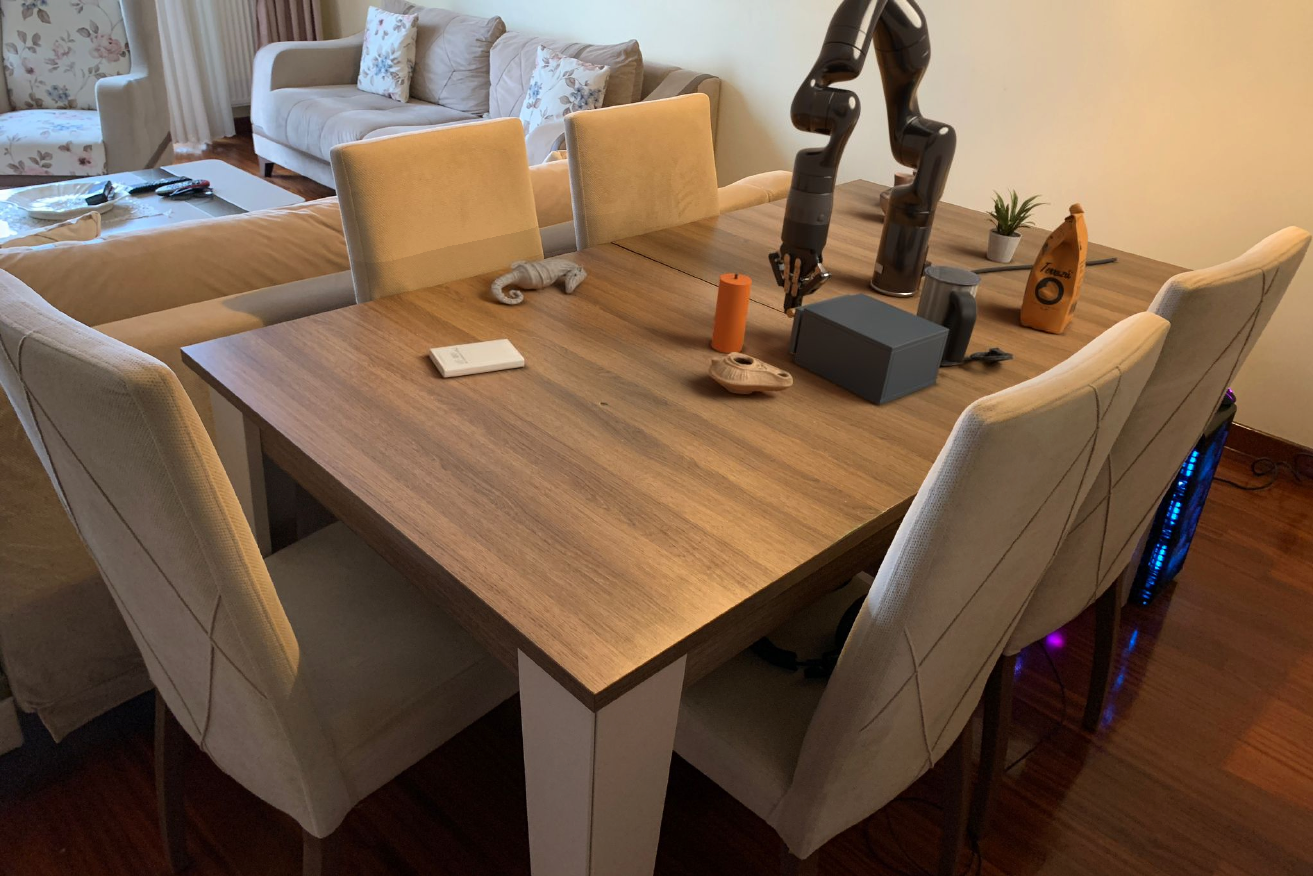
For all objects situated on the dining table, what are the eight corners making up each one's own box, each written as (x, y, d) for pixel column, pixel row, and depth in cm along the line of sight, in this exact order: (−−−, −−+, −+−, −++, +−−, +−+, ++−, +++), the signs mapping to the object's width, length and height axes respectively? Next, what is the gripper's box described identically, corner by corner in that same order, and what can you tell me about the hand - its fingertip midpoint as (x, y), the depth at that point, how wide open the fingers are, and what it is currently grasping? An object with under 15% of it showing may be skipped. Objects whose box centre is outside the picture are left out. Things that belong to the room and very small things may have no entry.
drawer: (769, 342, 154) (775, 298, 151) (821, 327, 162) (829, 285, 159) (865, 390, 141) (876, 344, 137) (917, 371, 149) (928, 327, 145)
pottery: (866, 221, 230) (876, 173, 224) (904, 204, 248) (913, 159, 242) (909, 232, 224) (919, 183, 219) (944, 213, 243) (955, 168, 237)
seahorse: (526, 308, 158) (598, 266, 171) (478, 271, 160) (552, 233, 173) (521, 330, 161) (591, 287, 174) (474, 293, 164) (546, 254, 177)
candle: (727, 338, 157) (736, 266, 150) (748, 349, 153) (759, 276, 147) (704, 344, 154) (713, 271, 147) (726, 355, 150) (736, 281, 144)
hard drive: (524, 368, 140) (444, 379, 134) (506, 347, 146) (429, 356, 140) (524, 358, 139) (444, 369, 134) (506, 337, 145) (428, 346, 140)
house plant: (1042, 260, 213) (1063, 190, 205) (1029, 274, 203) (1051, 201, 195) (981, 245, 219) (1000, 177, 211) (965, 259, 209) (984, 187, 201)
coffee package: (1009, 324, 174) (1043, 210, 164) (1022, 306, 184) (1054, 197, 173) (1063, 338, 170) (1102, 222, 160) (1073, 319, 180) (1110, 208, 169)
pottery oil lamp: (786, 409, 134) (772, 373, 130) (713, 411, 141) (697, 377, 136) (801, 369, 140) (788, 333, 135) (730, 373, 146) (715, 339, 142)
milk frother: (894, 347, 160) (913, 265, 152) (965, 339, 166) (986, 260, 158) (946, 382, 148) (970, 296, 141) (1020, 373, 155) (1046, 290, 147)
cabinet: (794, 362, 150) (803, 307, 146) (850, 344, 159) (861, 292, 154) (879, 405, 139) (892, 347, 134) (935, 383, 148) (949, 329, 143)
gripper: (853, 224, 147) (834, 323, 156) (793, 202, 156) (778, 298, 165) (822, 229, 143) (804, 332, 152) (763, 207, 152) (748, 305, 160)
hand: (790, 314), depth 158 cm, fingers closed
